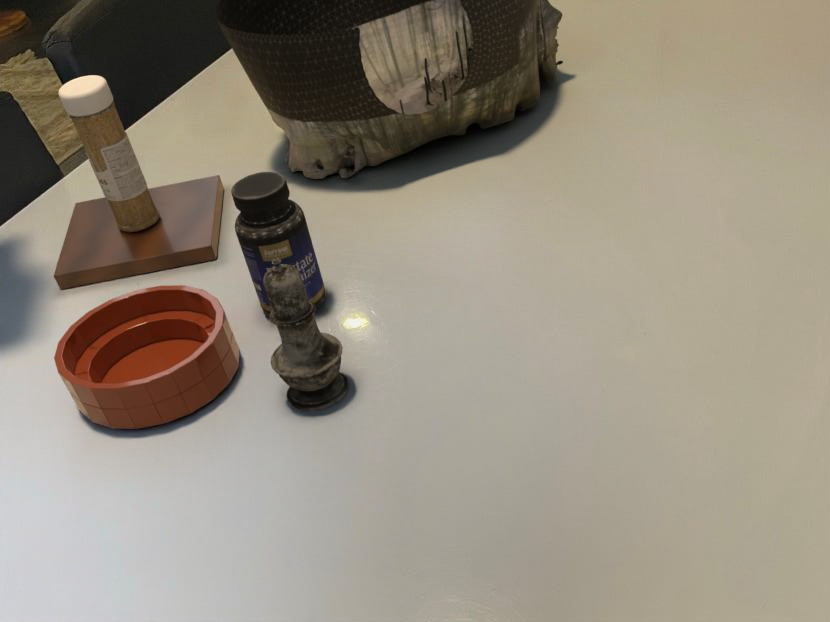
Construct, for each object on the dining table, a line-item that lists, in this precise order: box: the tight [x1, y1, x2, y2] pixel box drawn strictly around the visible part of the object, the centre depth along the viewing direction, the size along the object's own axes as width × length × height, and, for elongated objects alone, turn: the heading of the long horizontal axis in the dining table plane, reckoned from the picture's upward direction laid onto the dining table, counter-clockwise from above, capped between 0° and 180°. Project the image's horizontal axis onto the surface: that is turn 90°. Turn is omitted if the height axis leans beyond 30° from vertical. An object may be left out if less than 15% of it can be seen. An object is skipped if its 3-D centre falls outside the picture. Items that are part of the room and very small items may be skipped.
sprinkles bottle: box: [58, 74, 160, 232], centre depth 94 cm, size 5×5×13 cm
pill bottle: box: [230, 171, 327, 317], centre depth 84 cm, size 6×6×11 cm
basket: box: [215, 0, 564, 180], centre depth 102 cm, size 28×35×16 cm
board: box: [53, 174, 225, 290], centre depth 100 cm, size 16×15×2 cm
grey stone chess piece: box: [263, 257, 350, 412], centre depth 75 cm, size 6×6×12 cm
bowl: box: [53, 284, 240, 430], centre depth 82 cm, size 14×14×4 cm
